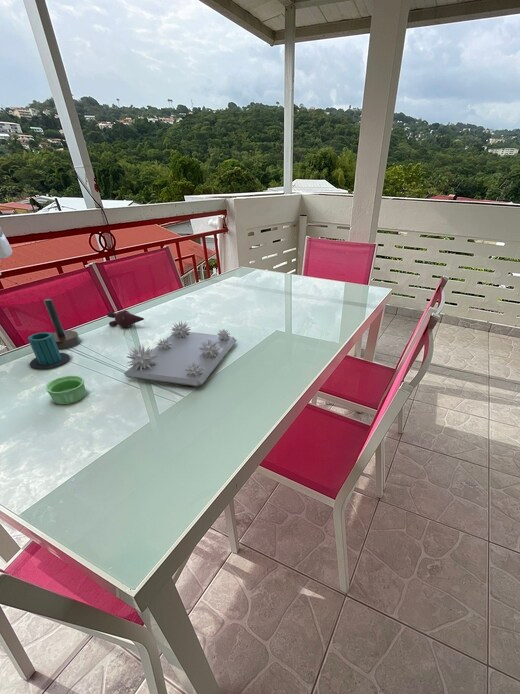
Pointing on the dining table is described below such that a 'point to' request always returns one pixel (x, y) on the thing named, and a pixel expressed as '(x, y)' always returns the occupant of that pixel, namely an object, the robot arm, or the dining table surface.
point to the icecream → (123, 318)
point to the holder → (61, 329)
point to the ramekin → (66, 389)
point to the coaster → (37, 366)
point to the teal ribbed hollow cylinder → (45, 348)
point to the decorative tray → (181, 357)
